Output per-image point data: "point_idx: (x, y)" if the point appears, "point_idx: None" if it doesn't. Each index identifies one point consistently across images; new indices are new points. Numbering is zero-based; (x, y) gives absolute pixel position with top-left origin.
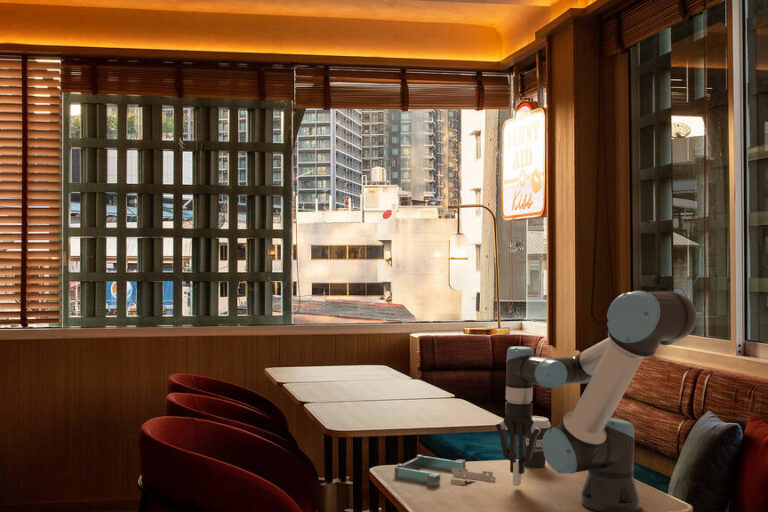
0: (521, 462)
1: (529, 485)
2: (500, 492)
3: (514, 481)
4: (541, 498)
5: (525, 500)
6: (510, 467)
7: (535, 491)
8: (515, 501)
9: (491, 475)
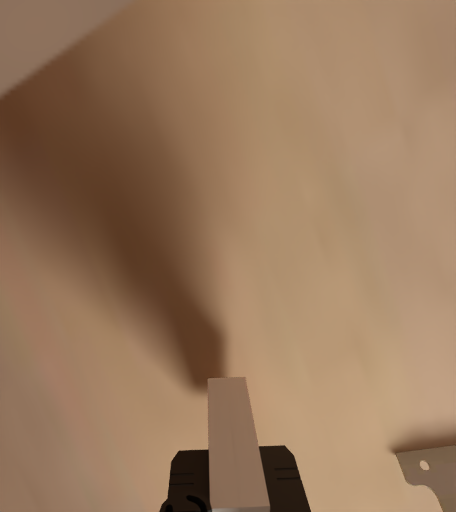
0: (162, 505)
1: None
2: (295, 271)
3: (234, 392)
4: (8, 299)
5: (80, 193)
6: (295, 475)
7: (106, 418)
8: (131, 128)
9: (443, 493)
